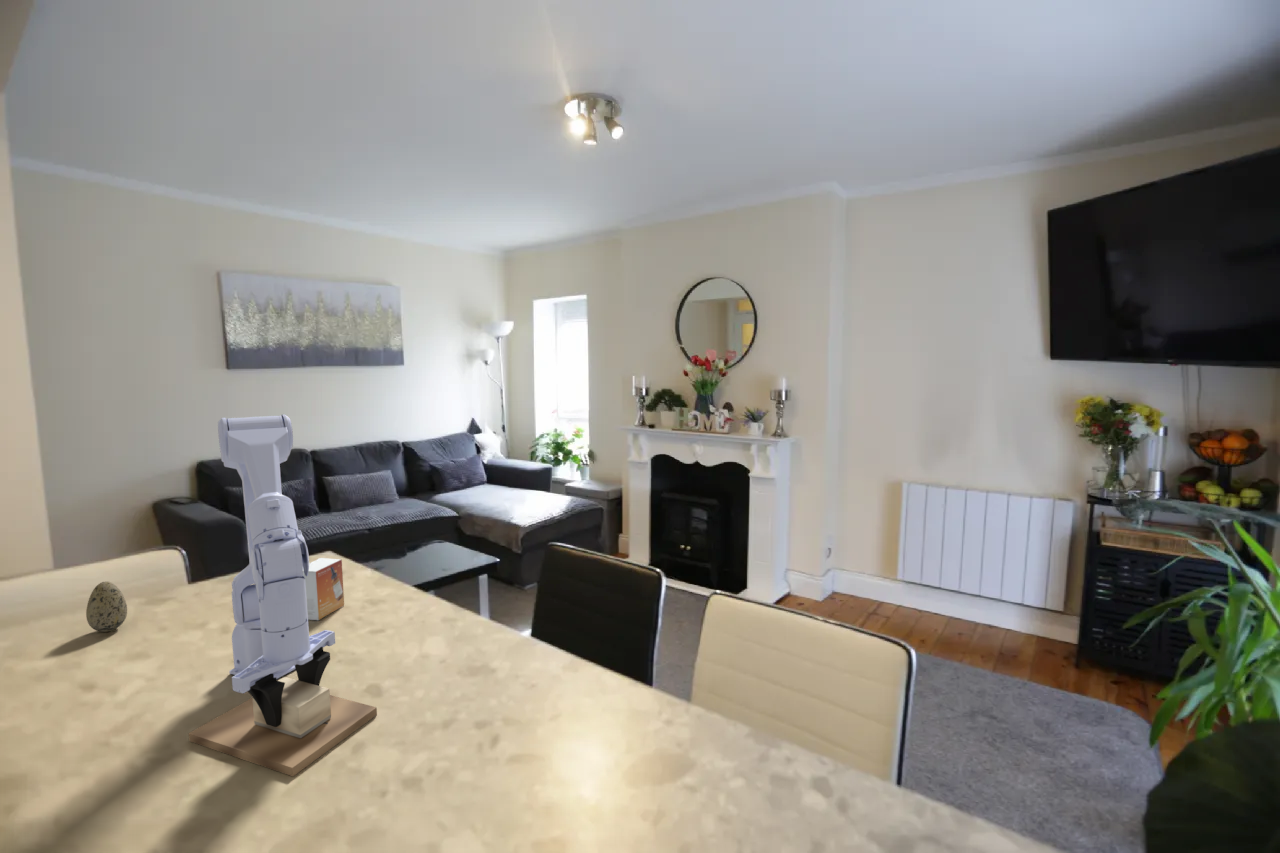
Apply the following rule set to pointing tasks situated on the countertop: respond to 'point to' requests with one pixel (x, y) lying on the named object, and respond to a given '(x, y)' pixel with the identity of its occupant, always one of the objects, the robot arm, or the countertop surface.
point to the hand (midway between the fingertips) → (291, 713)
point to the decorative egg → (106, 607)
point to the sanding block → (299, 708)
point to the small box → (324, 587)
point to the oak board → (280, 736)
